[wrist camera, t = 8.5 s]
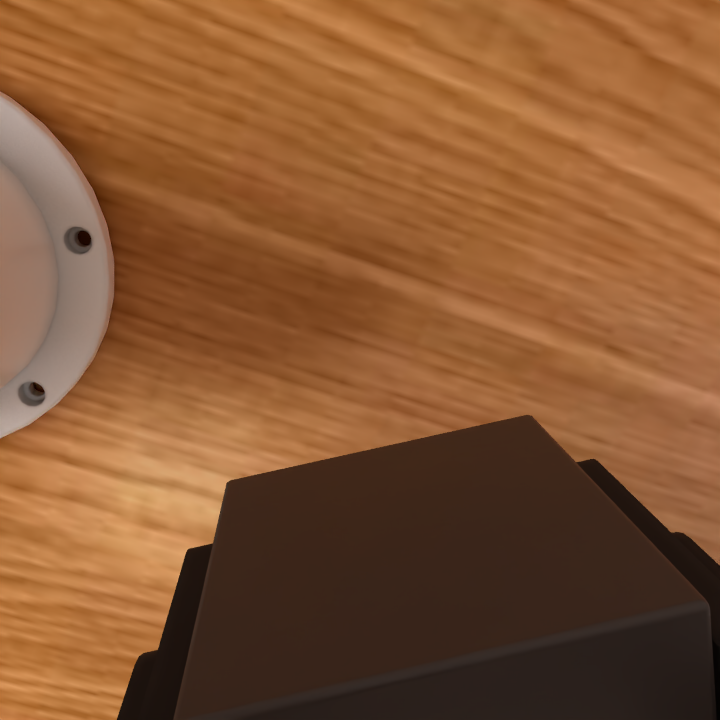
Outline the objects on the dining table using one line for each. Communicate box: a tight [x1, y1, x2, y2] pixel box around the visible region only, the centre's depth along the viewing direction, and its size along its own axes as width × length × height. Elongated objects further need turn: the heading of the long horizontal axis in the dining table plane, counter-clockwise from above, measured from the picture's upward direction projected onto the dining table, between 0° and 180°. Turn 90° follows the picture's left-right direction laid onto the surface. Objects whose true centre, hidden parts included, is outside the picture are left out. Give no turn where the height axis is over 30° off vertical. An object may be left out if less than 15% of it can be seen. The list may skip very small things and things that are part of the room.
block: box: [173, 415, 717, 720], centre depth 8 cm, size 4×4×4 cm
